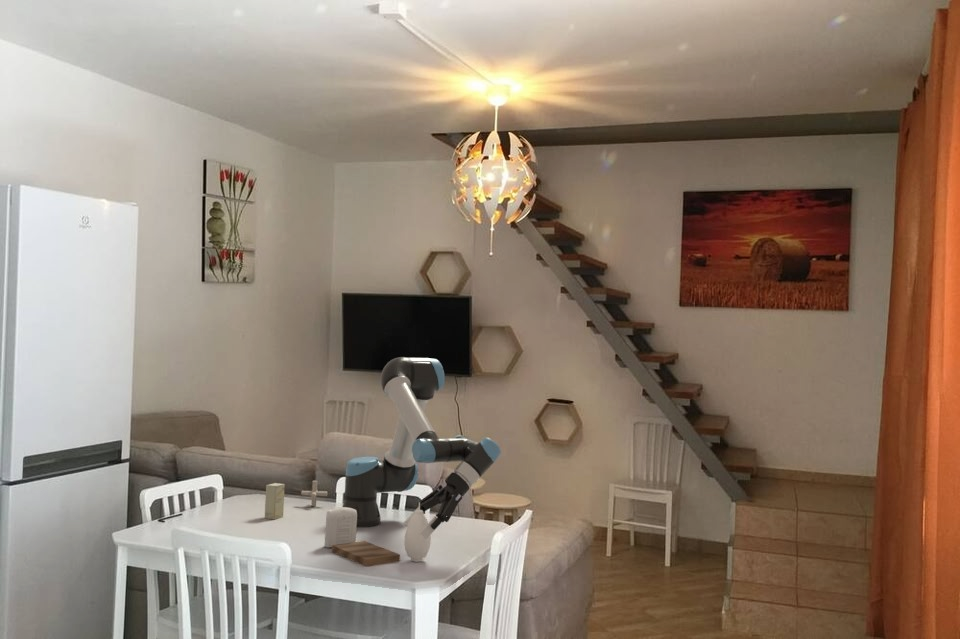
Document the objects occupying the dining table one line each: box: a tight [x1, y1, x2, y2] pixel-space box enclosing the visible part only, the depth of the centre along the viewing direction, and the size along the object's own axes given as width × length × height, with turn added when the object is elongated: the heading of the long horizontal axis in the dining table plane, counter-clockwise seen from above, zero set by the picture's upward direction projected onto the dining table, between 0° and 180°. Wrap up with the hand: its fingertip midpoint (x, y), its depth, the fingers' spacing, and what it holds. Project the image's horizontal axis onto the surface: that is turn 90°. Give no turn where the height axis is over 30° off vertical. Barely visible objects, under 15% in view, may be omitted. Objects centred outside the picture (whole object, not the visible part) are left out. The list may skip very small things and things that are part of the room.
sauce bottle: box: [404, 501, 432, 563], centre depth 258 cm, size 8×8×18 cm
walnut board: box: [331, 540, 401, 567], centre depth 261 cm, size 20×12×2 cm, turn 40°
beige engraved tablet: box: [324, 506, 357, 549], centre depth 273 cm, size 10×4×12 cm, turn 119°
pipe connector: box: [300, 480, 328, 507], centre depth 335 cm, size 10×10×10 cm
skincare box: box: [264, 482, 286, 520], centre depth 311 cm, size 6×4×12 cm
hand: (414, 530), depth 257 cm, fingers open, 13 cm apart
